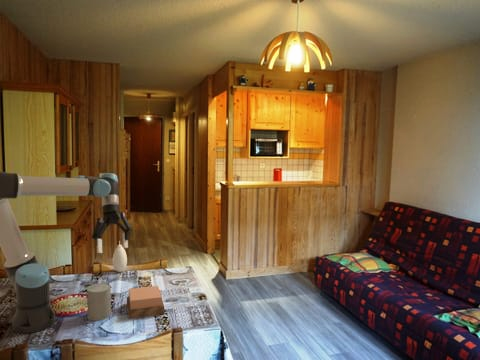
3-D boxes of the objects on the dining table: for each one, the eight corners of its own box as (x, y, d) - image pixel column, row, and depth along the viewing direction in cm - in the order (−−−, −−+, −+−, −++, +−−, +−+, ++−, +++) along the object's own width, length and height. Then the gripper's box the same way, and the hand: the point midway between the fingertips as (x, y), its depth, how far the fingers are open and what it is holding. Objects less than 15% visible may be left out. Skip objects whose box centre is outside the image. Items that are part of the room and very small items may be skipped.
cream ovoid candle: (129, 269, 213) (129, 239, 211) (123, 274, 205) (123, 243, 203) (116, 268, 214) (115, 238, 212) (110, 273, 206) (109, 242, 204)
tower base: (128, 320, 155) (128, 311, 155) (126, 305, 169) (126, 296, 169) (164, 315, 160) (164, 306, 160) (159, 301, 174) (159, 292, 174)
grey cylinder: (101, 308, 164) (100, 281, 163) (116, 313, 160) (115, 286, 158) (82, 316, 156) (81, 288, 155) (97, 322, 151) (96, 293, 150)
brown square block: (130, 309, 156) (130, 300, 156) (128, 297, 168) (128, 288, 168) (161, 305, 161) (161, 297, 160) (157, 293, 173) (157, 285, 172)
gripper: (138, 201, 175) (141, 246, 169) (93, 212, 181) (94, 255, 174) (129, 198, 168) (131, 244, 162) (83, 209, 174) (83, 254, 167)
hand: (112, 250), depth 168 cm, fingers open, 13 cm apart
